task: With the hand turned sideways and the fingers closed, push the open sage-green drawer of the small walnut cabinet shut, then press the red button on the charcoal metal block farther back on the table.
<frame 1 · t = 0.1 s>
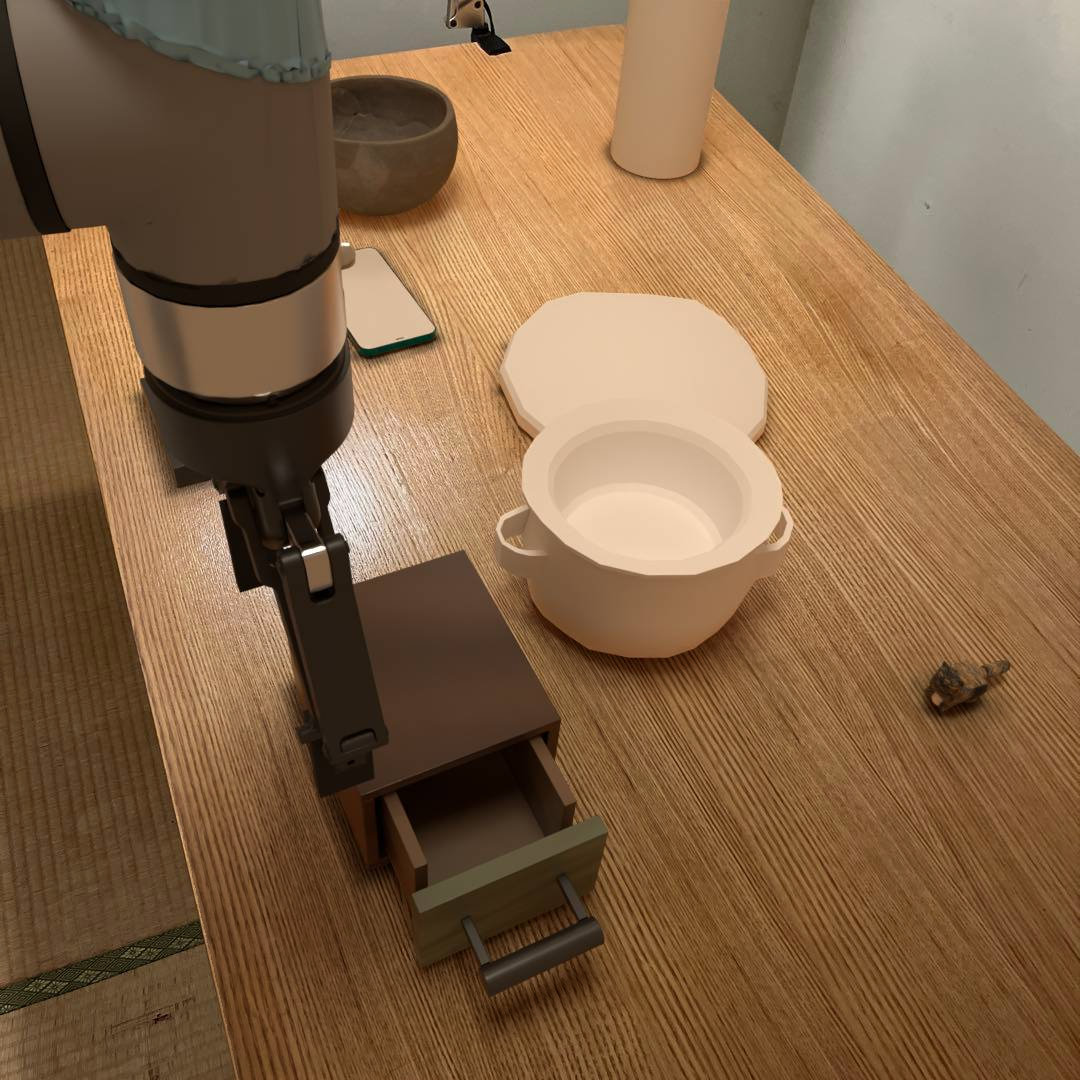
hand: (301, 674, 55), 17 cm above the table, tool pointing down, fingers open, 13 cm apart
button: (211, 386, 89), point 4 cm above the table, slide at 0.1 cm
cat figurine: (960, 693, 79), on the table
tall pillar cylinder: (654, 157, 129), on the table
decorative plate: (632, 392, 100), on the table
bowl: (378, 194, 120), on the table
pot: (630, 593, 84), on the table
drawer: (481, 833, 64), point 5 cm above the table, slide at 6.0 cm
cabinet: (419, 743, 73), on the table
smartphone: (369, 304, 106), on the table
button block: (219, 426, 93), on the table
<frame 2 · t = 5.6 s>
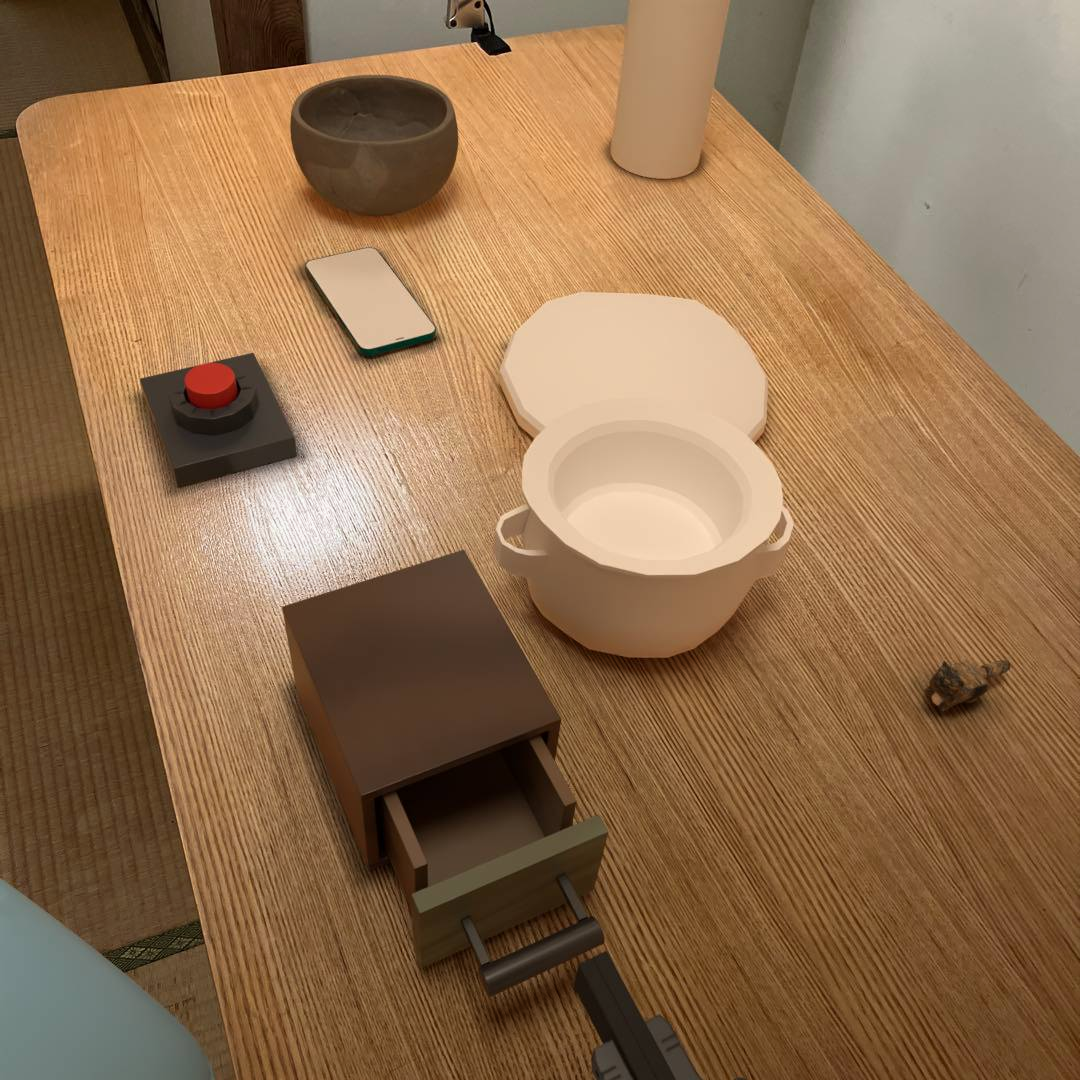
hand: (589, 968, 51), 13 cm above the table, tool horizontal, fingers closed
nothing on the table moved.
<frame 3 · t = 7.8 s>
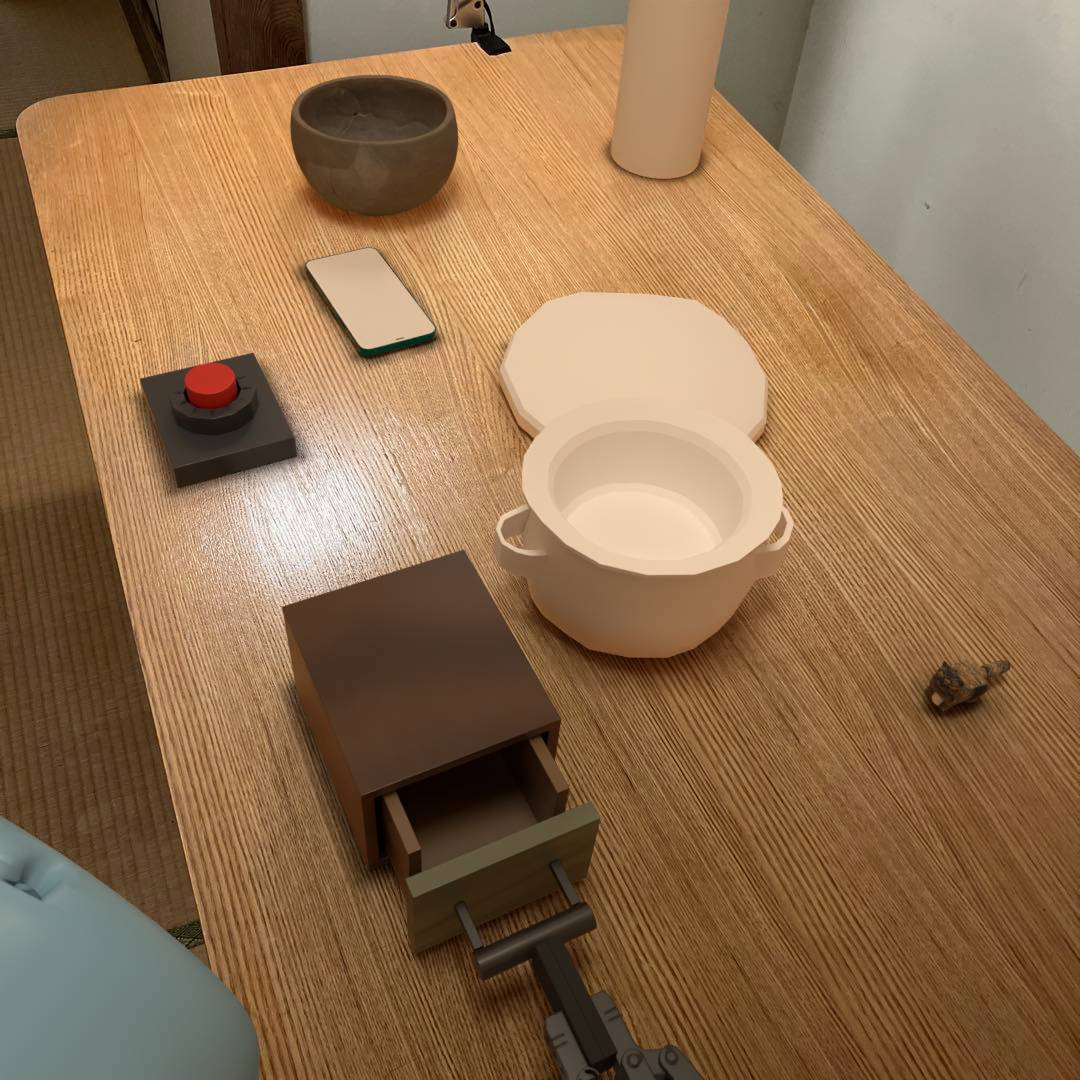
hand: (545, 950, 58), 6 cm above the table, tool horizontal, fingers closed
drawer: (474, 820, 64), point 5 cm above the table, slide at 5.1 cm, touching gripper
everything else where it was.
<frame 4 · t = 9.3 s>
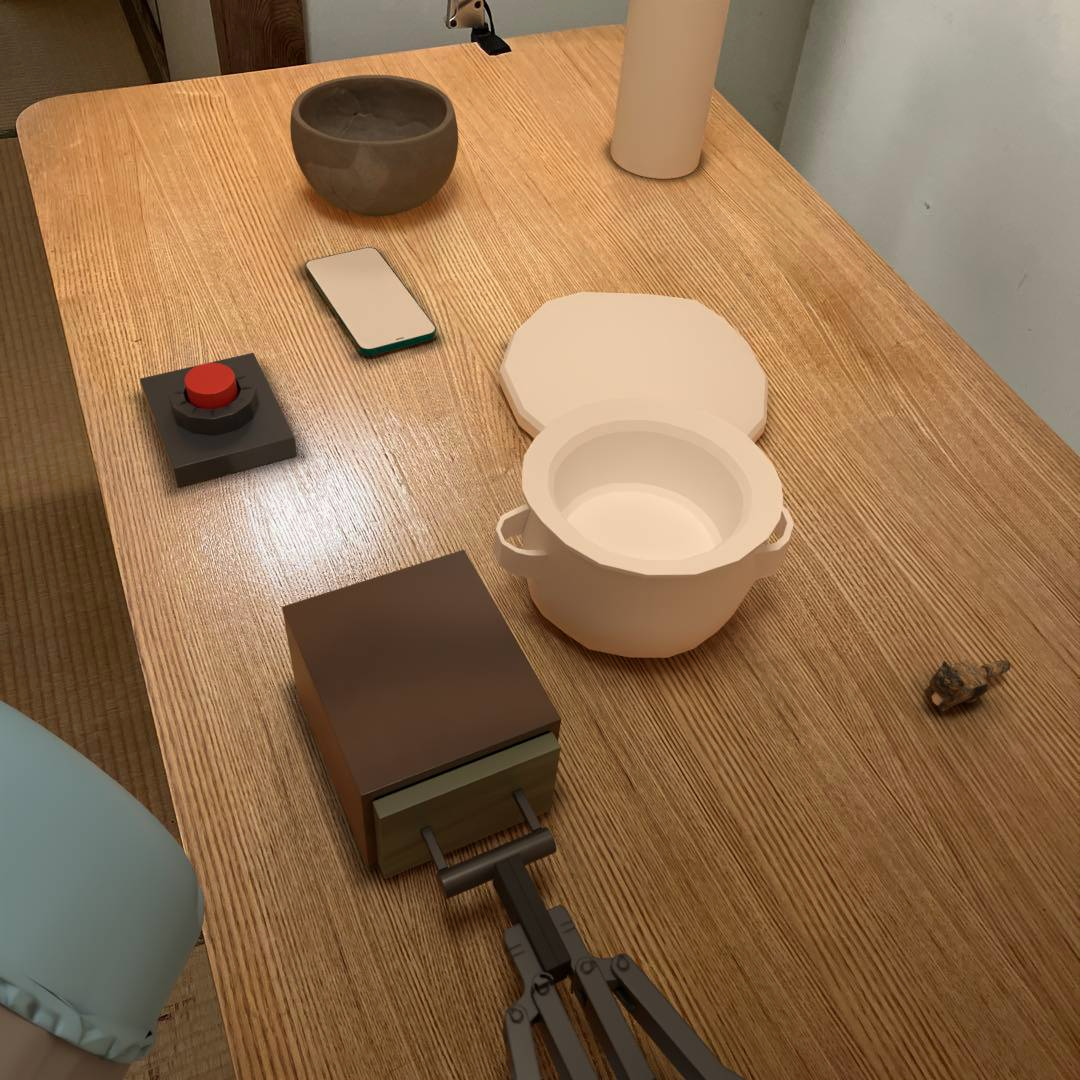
hand: (505, 869, 61), 6 cm above the table, tool horizontal, fingers closed
drawer: (442, 753, 67), point 5 cm above the table, slide at 0.1 cm, touching gripper
everything else where it was.
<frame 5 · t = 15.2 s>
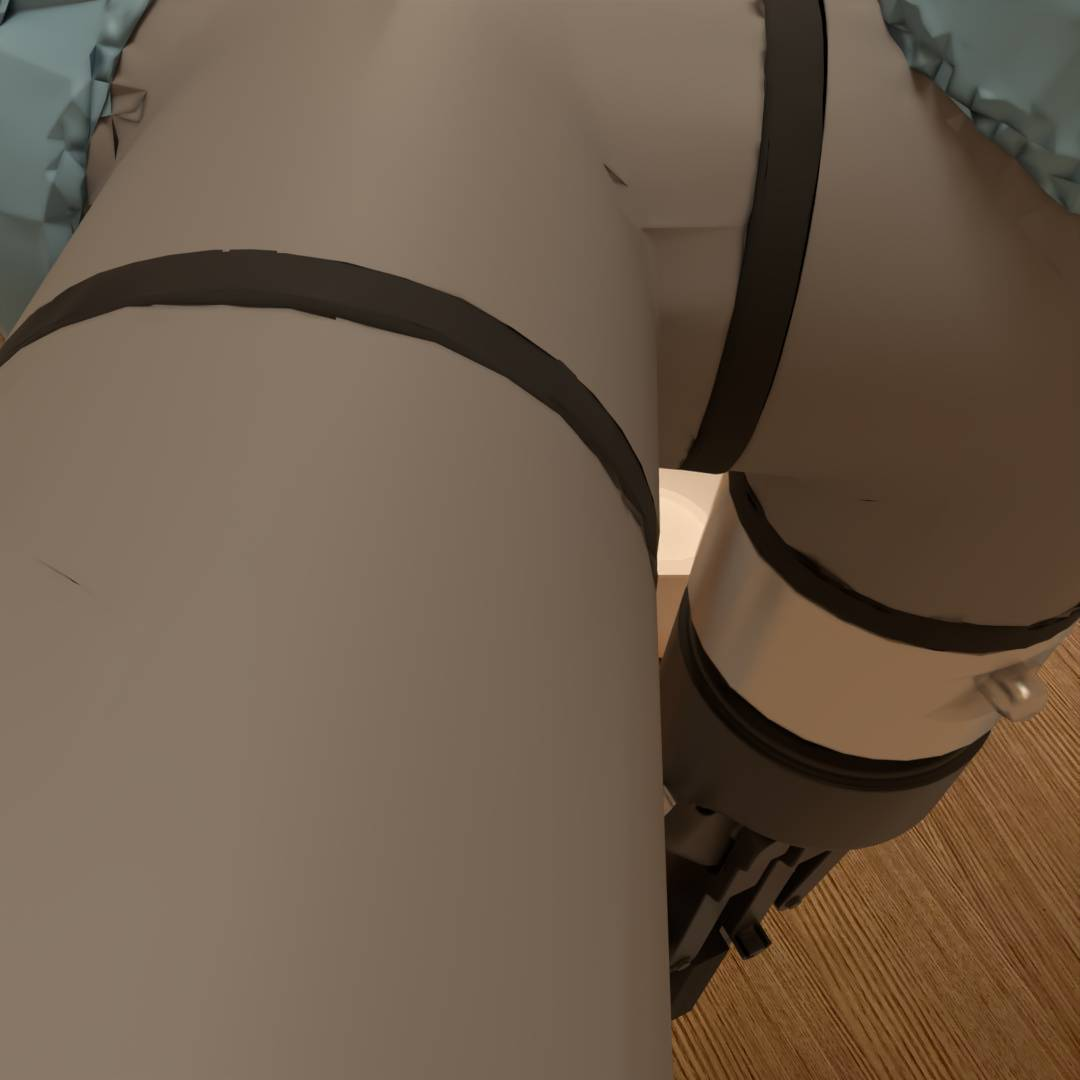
hand: (657, 986, 42), 21 cm above the table, tool pointing down, fingers closed
drawer: (442, 753, 67), point 5 cm above the table, slide at 0.1 cm
everything else where it was.
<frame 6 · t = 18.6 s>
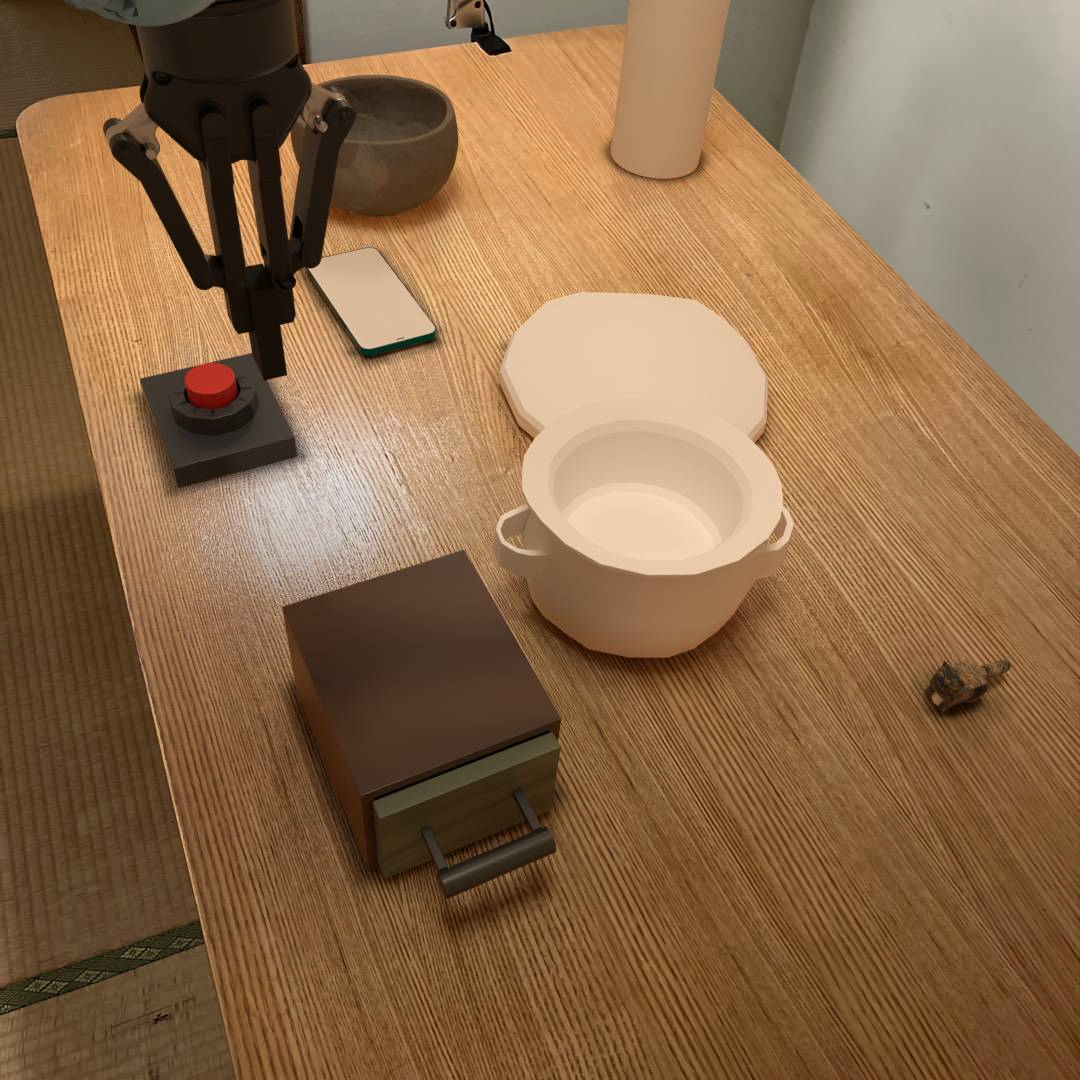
hand: (269, 364, 68), 20 cm above the table, tool pointing down, fingers closed
nothing on the table moved.
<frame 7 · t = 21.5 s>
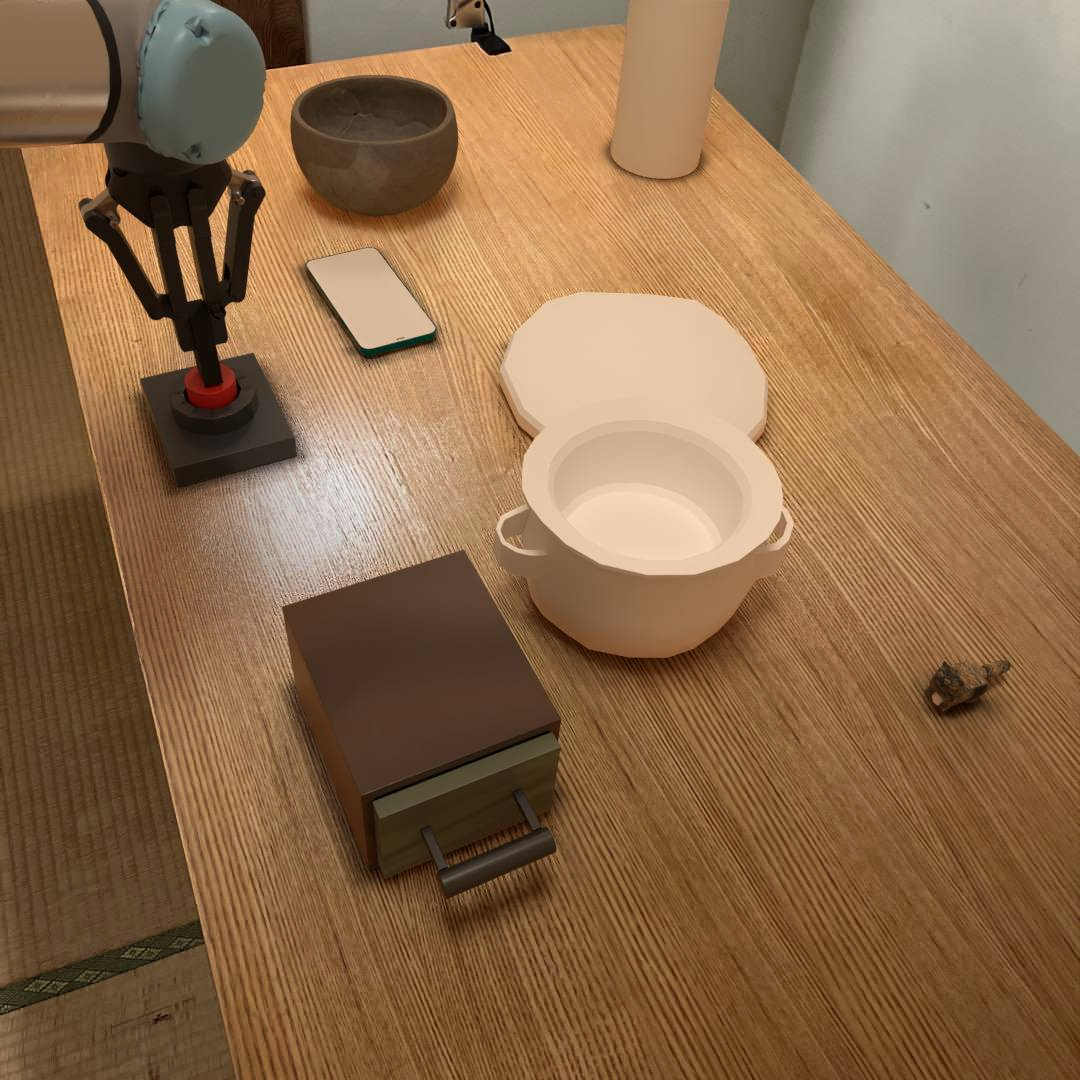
hand: (209, 375, 89), 6 cm above the table, tool pointing down, fingers closed
button: (211, 386, 89), point 4 cm above the table, slide at 0.1 cm, touching gripper
everything else where it was.
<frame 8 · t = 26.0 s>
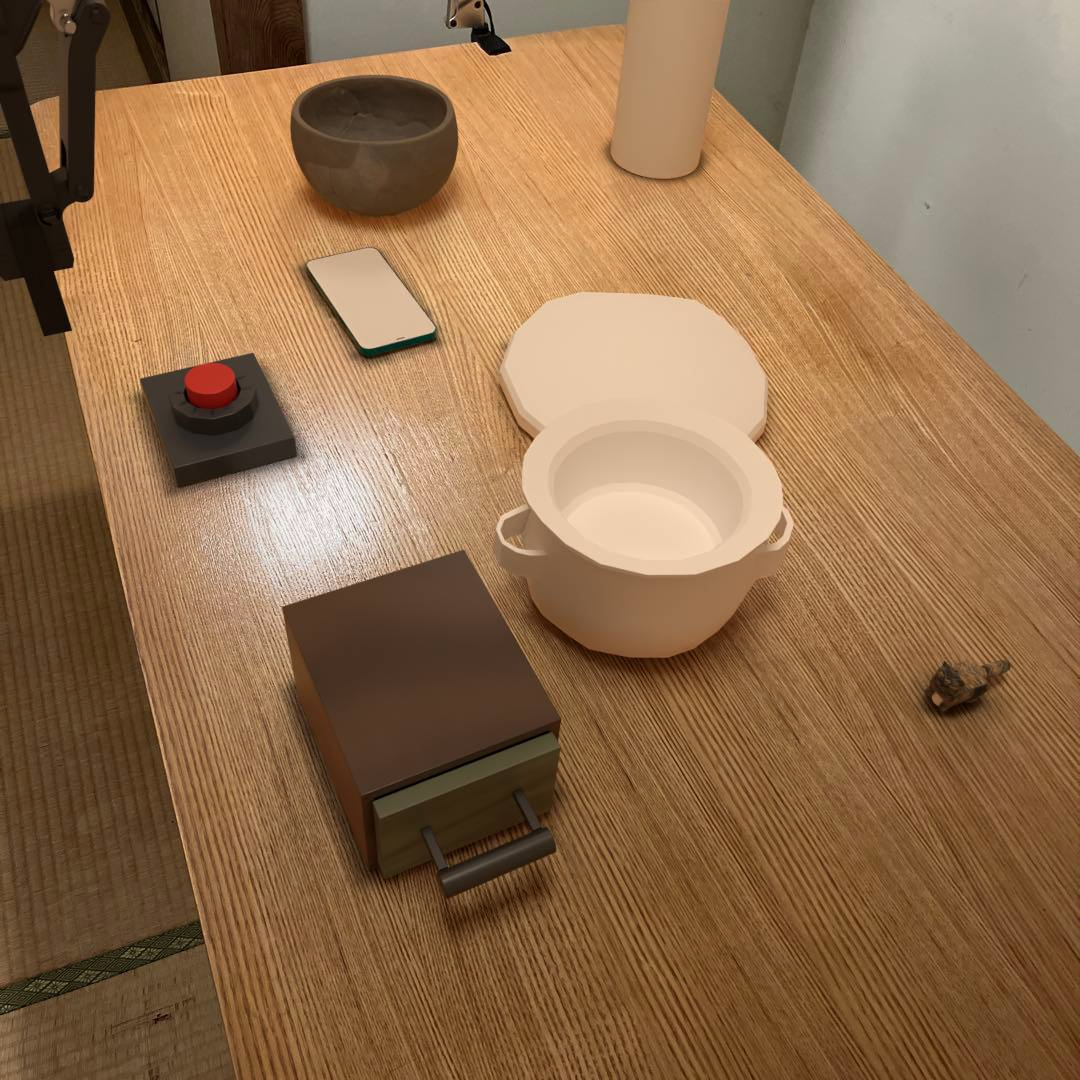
hand: (53, 319, 59), 26 cm above the table, tool pointing down, fingers closed
button: (211, 386, 89), point 4 cm above the table, slide at 0.1 cm
everything else where it was.
at the end: drawer slide at 0.1 cm; button pushed in 1.0 cm at the most during the clip, back to where it started at the end; button slide at 0.1 cm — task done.
